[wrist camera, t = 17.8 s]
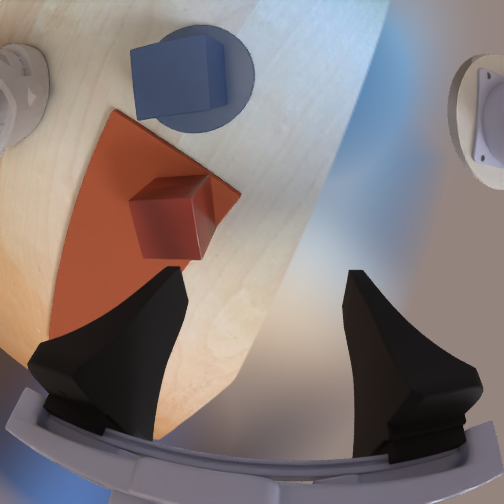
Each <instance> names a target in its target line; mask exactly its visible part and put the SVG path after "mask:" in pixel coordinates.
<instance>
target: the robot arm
mask: <svg viewBox="0 0 504 504" xmlns="http://www.w3.org/2000/svg"><path fill="white" fill-rule="evenodd" d="M486 74H488V78H487V75H486ZM477 78H478V82H477V112H476V125H475V135H474V144H473V151H472V159H473V161H475V162H477V163H480V164H485V165H489V166H493V167H497V168H501V169H504V77H503V76H501V75H499V74H496V73H494V72H492V71H490V70H487V69H485V68H479V69H478V72H477ZM481 156H482V159H481ZM188 302H189V301H188V297H187V293H186V289H185V285H184V281H183V276H182V272H181V268H180V266H167V267H165V268H164V269H163V270H161V271H160V272H159V273H158V274H156V275H155V276H154V277H153V278H152V279H150V280H149V281H148V282H147V283H146V284H144V285H143V286H142V287H141V288H140V289H138V290H137V291H136V292H135V293H133V294H132V295H131V296H129V297H128V298H127V299H126V300H124V301H123V302H122V303H120V304H119V305H118V306H116V307H115V308H113V309H112V310H110V311H109V312H107V313H106V314H104V315H102V316H101V317H99V318H97V319H96V320H94V321H92V322H90V323H88V324H86V325H85V326H83V327H81V328H78V329H76V330H74V331H72V332H70V333H67V334H65V335H62V336H60V337H57V338H54V339H51V340H48V341H45V342H42V343H40V344H39V346H38V347H37V349H36V350H35V352H34V354H33V355H32V357H31V358H30V360H29V362H28V363H27V365H28V369H29V371H30V372H31V374H32V375H33V376H34V378H35V379H36V380H37V381H38V382H39V383H40V384H41V385H42V386H43V388H44V389H45V390H46V391H47V392H48V393H49V395H48V397H47V399H46V398H45V397H44V396H42V395H41V394H39V393H37V392H35V391H33V390H31V389H29V388H25V390H24V391H23V393H22V395H21V397H20V399H19V401H18V403H17V405H16V406H15V408H14V410H13V412H12V414H11V416H10V418H9V420H8V422H7V424H6V427H5V428H6V430H8V431H9V432H10V433H11V434H13V435H14V436H15V437H17V438H18V439H19V440H21V441H22V442H23V443H25V444H26V445H28V446H29V447H31V448H32V449H33V450H35V451H37V452H38V453H40V454H41V455H43V456H44V457H46V458H48V459H49V460H51V461H53V462H54V463H56V464H58V465H60V466H62V467H64V468H65V469H67V470H69V471H71V472H73V473H75V474H77V475H78V476H80V477H83V478H85V479H87V480H89V481H91V482H93V483H95V484H97V485H100V486H102V487H104V488H106V489H109V490H111V491H112V493H111V496H110V500H109V503H108V504H436V503H439V502H442V501H445V500H448V499H451V498H453V497H456V496H458V495H461V494H464V493H466V492H468V491H470V490H472V489H475V488H477V487H479V486H481V485H483V484H485V483H487V482H489V481H491V480H493V479H495V478H497V477H499V476H500V475H502V474H503V473H504V470H503V464H502V459H501V454H500V449H499V445H498V441H497V436H496V433H495V429H494V425H493V422H492V421H488V422H486V423H483V424H480V425H477V426H475V427H472V428H469V429H468V430H466V431H464V428H463V425H464V424H465V423H466V418H465V413H466V412H467V411H468V410H469V409H470V408H471V407H472V406H473V405H474V404H475V403H476V402H477V401H478V400H479V398H480V397H481V395H482V393H483V386H482V383H481V380H480V377H479V375H478V372H477V370H476V368H474V367H472V366H471V365H469V364H467V363H465V362H463V361H461V360H459V359H457V358H455V357H454V356H452V355H451V354H449V353H448V352H446V351H445V350H443V349H442V348H440V347H439V346H437V345H436V344H434V343H433V342H432V341H431V340H429V339H428V338H426V337H425V336H424V335H423V334H421V333H420V332H419V331H418V330H417V329H416V328H415V327H413V326H412V325H411V324H410V323H409V322H408V321H407V320H406V319H405V318H404V317H403V316H402V315H401V314H400V313H399V312H398V311H397V310H396V309H395V308H394V307H393V306H392V304H391V303H390V302H389V301H388V300H387V299H386V298H385V296H384V295H383V294H382V293H381V292H380V290H379V289H378V288H377V287H376V286H375V284H374V283H373V282H372V281H371V279H370V278H369V277H368V276H367V275H366V273H365V272H364V271H363V270H349V272H348V278H347V284H346V290H345V294H344V300H343V304H342V309H343V322H344V330H345V335H346V340H347V345H348V350H349V355H350V360H351V366H352V372H353V382H354V407H355V418H354V445H353V457H352V458H351V459H337V460H312V461H288V460H286V461H285V460H264V459H249V458H240V457H229V456H223V455H216V454H209V453H203V452H197V451H191V450H186V449H181V448H177V447H172V446H168V445H163V444H159V443H155V442H152V440H153V431H154V422H155V415H156V409H157V403H158V398H159V393H160V389H161V384H162V380H163V376H164V372H165V368H166V365H167V362H168V359H169V357H170V354H171V352H172V349H173V347H174V344H175V342H176V339H177V337H178V334H179V332H180V329H181V327H182V324H183V321H184V318H185V314H186V310H187V306H188ZM275 481H314V482H313V484H298V483H284V482H275Z"/></svg>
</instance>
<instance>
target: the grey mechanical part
mask: <svg viewBox="0 0 504 504" xmlns="http://www.w3.org/2000/svg"><path fill="white" fill-rule="evenodd" d="M48 93H49V72H48V67H47V63H46V61H45V58H44V56H43V55H42V53H41V52H40V51H39V50H37V49H36V48H33V47H30V46H27V45H24V44H8V45H6V46H3V47H2V48H1V49H0V157H1V156H2V155H3V154H4V152H5V151H6V149H7V148H9V147H12V146H13V145H15V144H16V143H18V142H20V141H21V140H22V139H24V138H25V137H26V136H27V135H29V134H30V133H31V132H32V131H33V130H34V129H35V128H36V127H37V125H38V123H39V121H40V120H41V118H42V116H43V113H44V110H45V107H46V104H47V99H48Z"/></svg>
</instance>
